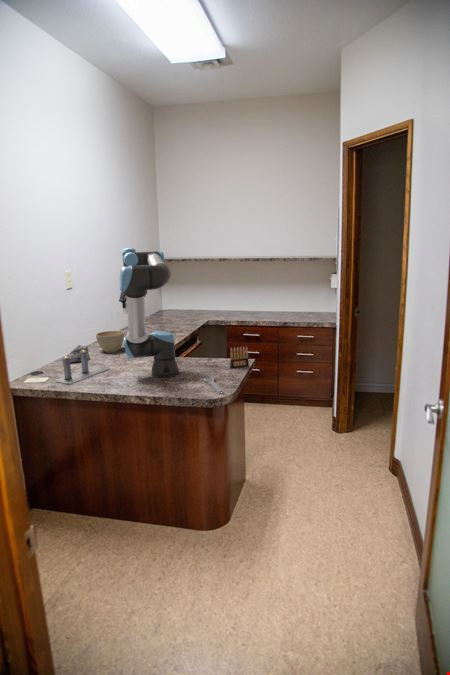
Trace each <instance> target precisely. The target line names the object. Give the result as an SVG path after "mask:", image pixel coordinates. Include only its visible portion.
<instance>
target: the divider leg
mask: <svg viewBox="0 0 450 675" xmlns="http://www.w3.org/2000/svg"><path fill="white" fill-rule="evenodd" d="M80 355H81V361H80V363H81V370H82V372H88V371H89V370H88V368H89V362H88V361H89V360H87V352H86V350H81V353H80Z"/></svg>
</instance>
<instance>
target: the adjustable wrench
mask: <svg viewBox="0 0 450 675" xmlns="http://www.w3.org/2000/svg"><path fill="white" fill-rule="evenodd" d="M202 382H204V383H203V384H208V383H209V384H208V385H210V384H211V385H210V386H211V387H212V388H213V389H214V390H215V391H216V393H217V392H218V393H219V394H218V393H217V394H218V395H220V394H223V395H225V391H224V390H223V389H222V388H221V387H220V386H219V385H218V384H217V383H216V382H215V377H214V376H207V378H205V377H203V378H202ZM221 392H222V393H221Z"/></svg>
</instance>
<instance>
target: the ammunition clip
mask: <svg viewBox="0 0 450 675" xmlns="http://www.w3.org/2000/svg"><path fill="white" fill-rule="evenodd" d="M229 356H230V357H229V358H230V359H229V368H230V369H232V370H233V369H240V368H241V369H242V368H249V367H250V361H249V350H248V346H247V345H246V347H245V346H243V347H242V346H240V347H238V346H237V347H235V346H234V347H233V348H232V347H230V354H229Z"/></svg>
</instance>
